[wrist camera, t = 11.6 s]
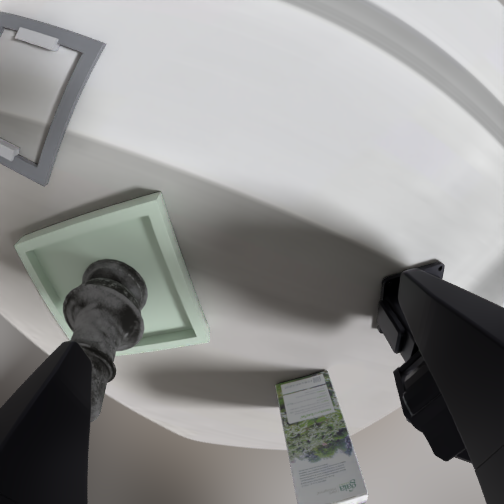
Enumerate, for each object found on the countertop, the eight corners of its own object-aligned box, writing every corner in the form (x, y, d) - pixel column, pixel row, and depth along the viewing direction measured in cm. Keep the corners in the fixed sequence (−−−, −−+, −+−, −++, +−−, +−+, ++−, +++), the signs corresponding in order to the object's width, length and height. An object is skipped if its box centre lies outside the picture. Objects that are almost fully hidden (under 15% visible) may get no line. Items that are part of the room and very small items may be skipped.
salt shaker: (67, 289, 21) (9, 418, 11) (101, 239, 19) (28, 382, 9) (126, 329, 23) (98, 463, 13) (167, 288, 22) (146, 441, 12)
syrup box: (283, 408, 33) (306, 521, 20) (273, 382, 30) (299, 515, 17) (330, 395, 32) (365, 505, 20) (327, 367, 29) (370, 495, 17)
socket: (106, 43, 14) (101, 42, 13) (47, 184, 17) (42, 188, 17) (3, 12, 10) (-3, 11, 9) (-40, 137, 14) (-46, 140, 13)
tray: (160, 191, 19) (156, 199, 17) (209, 329, 25) (209, 341, 24) (23, 236, 19) (13, 245, 17) (88, 347, 25) (84, 359, 24)
